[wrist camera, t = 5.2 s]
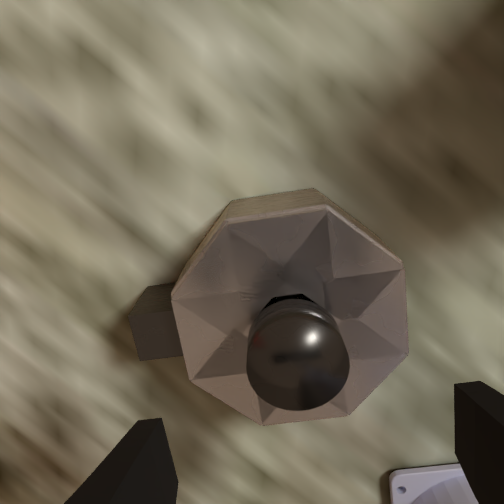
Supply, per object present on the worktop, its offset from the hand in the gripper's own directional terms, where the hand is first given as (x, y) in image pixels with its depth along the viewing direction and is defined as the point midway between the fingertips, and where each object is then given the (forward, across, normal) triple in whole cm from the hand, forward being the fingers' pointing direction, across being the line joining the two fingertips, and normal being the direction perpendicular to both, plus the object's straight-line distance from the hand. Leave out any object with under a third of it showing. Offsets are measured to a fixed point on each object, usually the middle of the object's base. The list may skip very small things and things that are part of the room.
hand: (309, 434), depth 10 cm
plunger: (+9, 0, 0) cm, 9 cm away
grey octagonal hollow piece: (+9, 0, 0) cm, 9 cm away
